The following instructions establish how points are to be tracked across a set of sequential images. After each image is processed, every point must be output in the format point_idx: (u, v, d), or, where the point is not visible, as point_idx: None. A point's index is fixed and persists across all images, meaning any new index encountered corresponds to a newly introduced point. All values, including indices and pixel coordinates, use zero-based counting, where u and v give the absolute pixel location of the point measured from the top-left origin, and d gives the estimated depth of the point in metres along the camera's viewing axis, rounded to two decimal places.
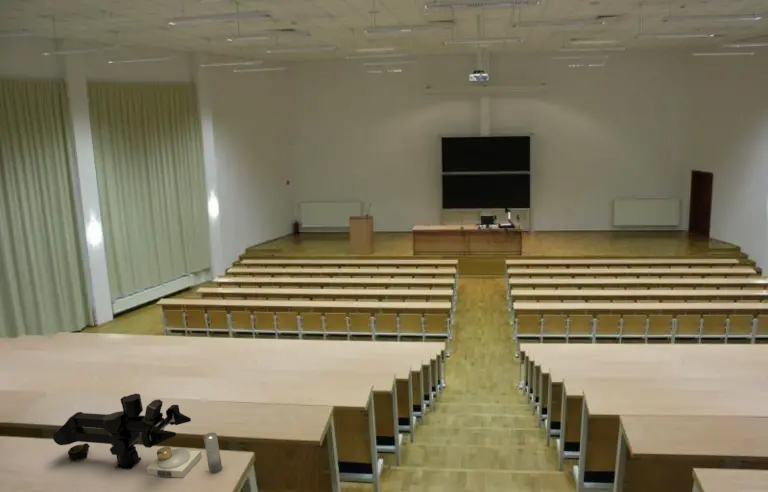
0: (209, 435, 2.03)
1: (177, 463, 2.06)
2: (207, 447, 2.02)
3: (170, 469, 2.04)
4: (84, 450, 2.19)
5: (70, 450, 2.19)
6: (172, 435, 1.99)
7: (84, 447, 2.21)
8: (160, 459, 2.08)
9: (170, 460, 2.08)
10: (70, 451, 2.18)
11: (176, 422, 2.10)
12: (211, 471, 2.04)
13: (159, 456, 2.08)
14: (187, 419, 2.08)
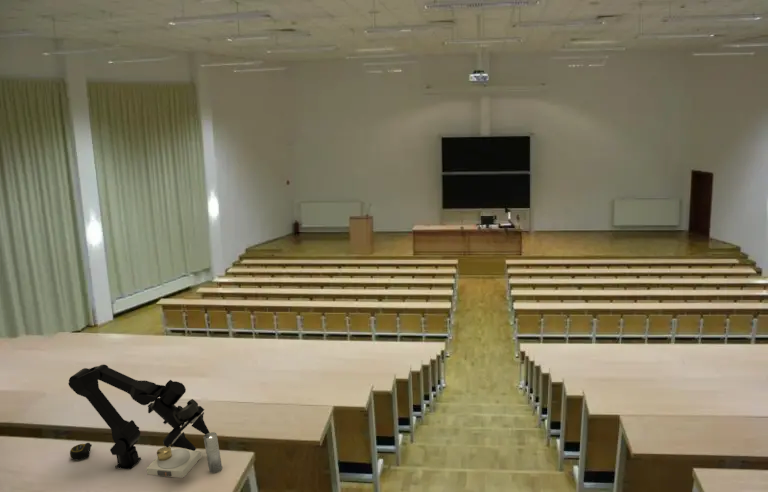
0: (209, 435, 2.04)
1: (177, 463, 2.06)
2: (207, 447, 2.02)
3: (170, 469, 2.04)
4: (86, 449, 2.19)
5: (72, 449, 2.19)
6: (192, 449, 2.00)
7: (86, 446, 2.21)
8: (160, 459, 2.08)
9: (170, 460, 2.08)
10: (72, 450, 2.19)
11: (194, 425, 2.10)
12: (211, 471, 2.04)
13: (159, 456, 2.08)
14: (207, 432, 2.09)
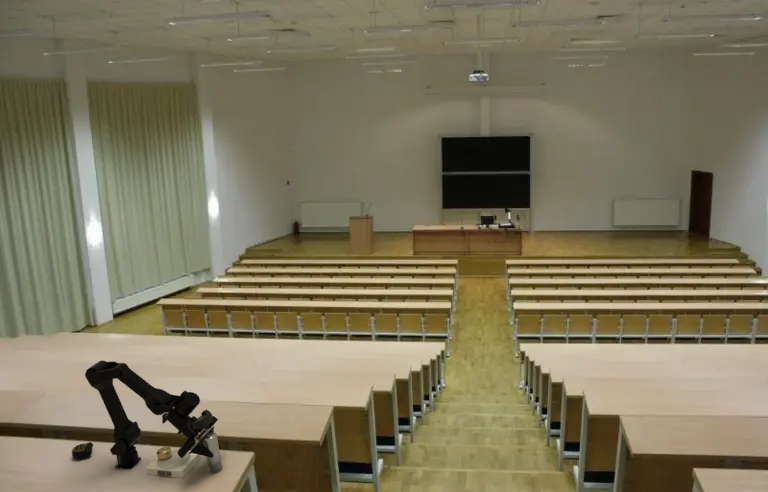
0: (209, 435, 2.03)
1: (177, 463, 2.06)
2: (207, 447, 2.02)
3: (170, 469, 2.04)
4: (88, 449, 2.20)
5: (74, 449, 2.20)
6: (209, 456, 2.02)
7: (88, 446, 2.21)
8: (160, 459, 2.08)
9: (170, 460, 2.08)
10: (74, 450, 2.19)
11: None
12: (211, 471, 2.04)
13: (159, 456, 2.08)
14: None
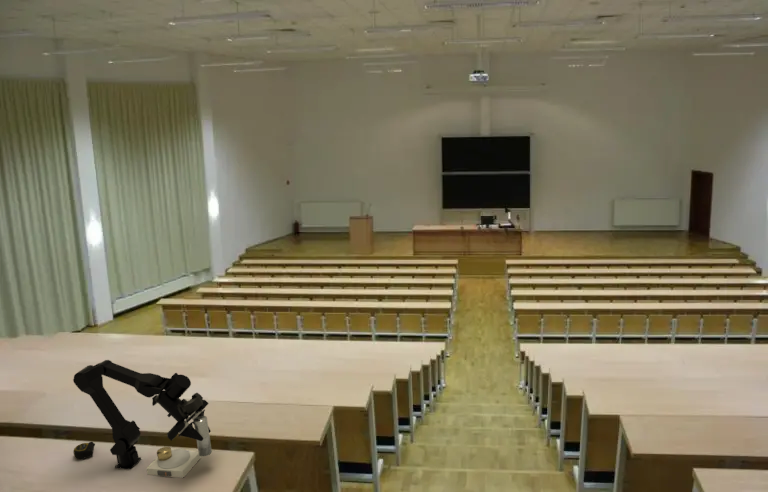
0: (199, 418, 2.03)
1: (177, 463, 2.06)
2: (197, 430, 2.01)
3: (170, 469, 2.04)
4: (90, 448, 2.20)
5: (76, 448, 2.20)
6: (199, 439, 2.01)
7: (89, 445, 2.21)
8: (160, 459, 2.08)
9: (170, 460, 2.08)
10: (76, 449, 2.19)
11: None
12: (200, 454, 2.03)
13: (159, 456, 2.08)
14: None
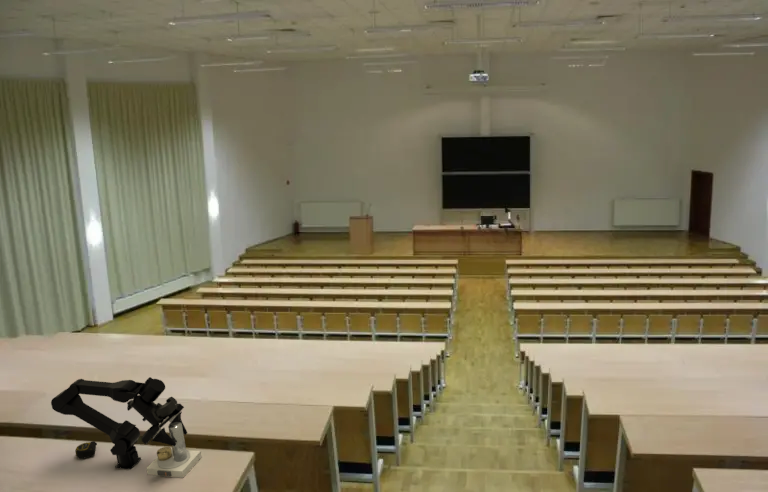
0: (174, 424, 2.06)
1: (177, 463, 2.06)
2: (172, 436, 2.04)
3: (170, 469, 2.04)
4: (91, 448, 2.20)
5: (77, 448, 2.20)
6: (172, 444, 2.03)
7: (91, 445, 2.22)
8: (160, 459, 2.08)
9: (170, 460, 2.08)
10: (78, 449, 2.19)
11: None
12: (176, 460, 2.07)
13: (159, 456, 2.08)
14: (184, 432, 2.10)
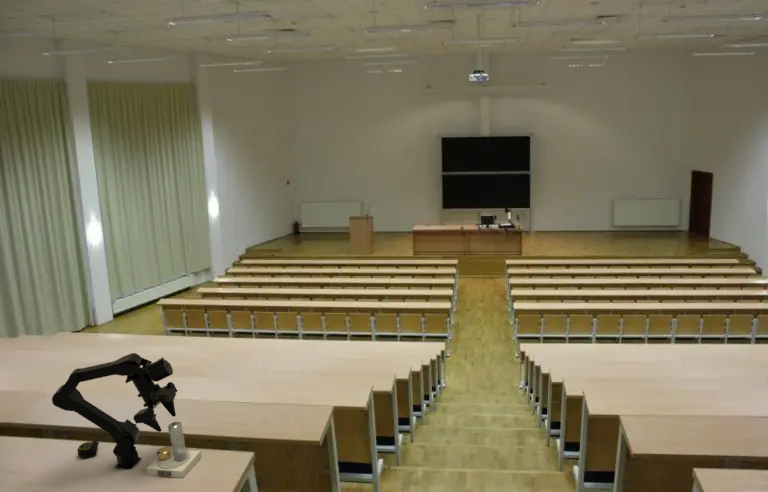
0: (174, 424, 2.06)
1: (177, 463, 2.06)
2: (171, 436, 2.04)
3: (170, 469, 2.04)
4: (93, 447, 2.20)
5: (80, 447, 2.20)
6: (157, 430, 2.07)
7: (93, 444, 2.22)
8: (160, 459, 2.08)
9: (170, 460, 2.08)
10: (80, 448, 2.20)
11: (163, 402, 2.15)
12: (176, 460, 2.07)
13: (159, 456, 2.08)
14: (173, 414, 2.15)
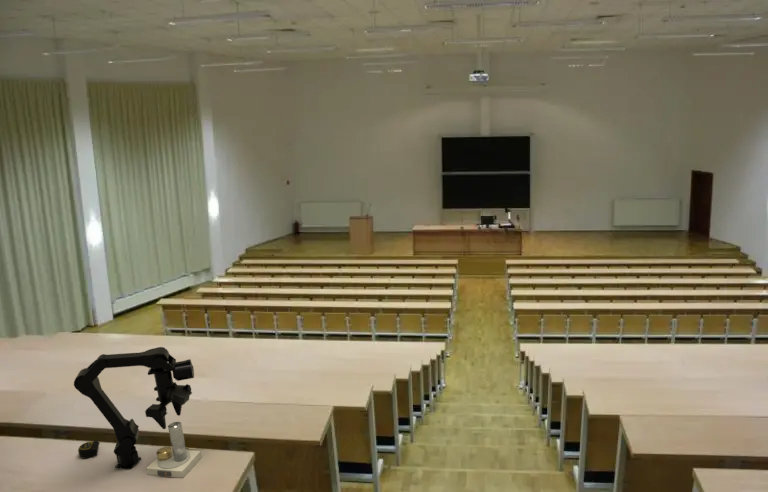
0: (174, 424, 2.06)
1: (177, 463, 2.06)
2: (171, 436, 2.04)
3: (170, 469, 2.04)
4: (94, 447, 2.20)
5: (80, 447, 2.20)
6: (162, 427, 2.10)
7: (94, 444, 2.22)
8: (160, 459, 2.08)
9: (170, 460, 2.08)
10: (80, 448, 2.20)
11: None
12: (176, 460, 2.07)
13: (159, 456, 2.08)
14: (178, 413, 2.18)
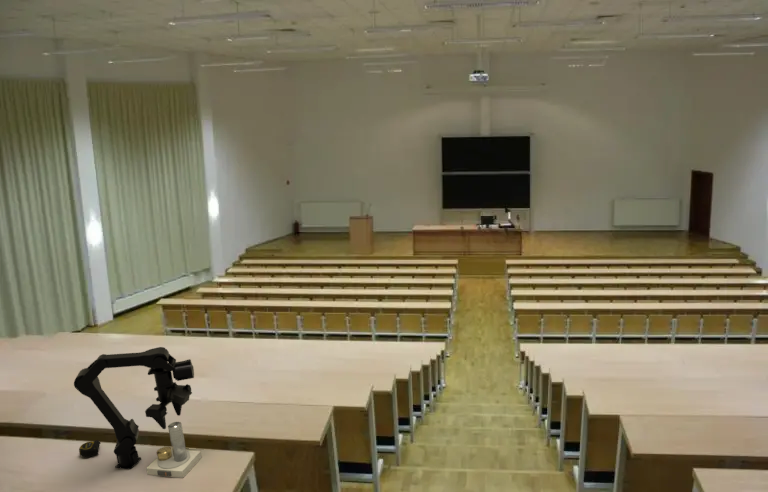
0: (174, 424, 2.06)
1: (177, 463, 2.06)
2: (172, 436, 2.04)
3: (170, 469, 2.04)
4: (95, 447, 2.21)
5: (81, 447, 2.21)
6: (162, 427, 2.10)
7: (95, 444, 2.22)
8: (160, 459, 2.08)
9: (170, 460, 2.08)
10: (81, 448, 2.20)
11: None
12: (176, 460, 2.07)
13: (159, 456, 2.08)
14: (178, 413, 2.18)
